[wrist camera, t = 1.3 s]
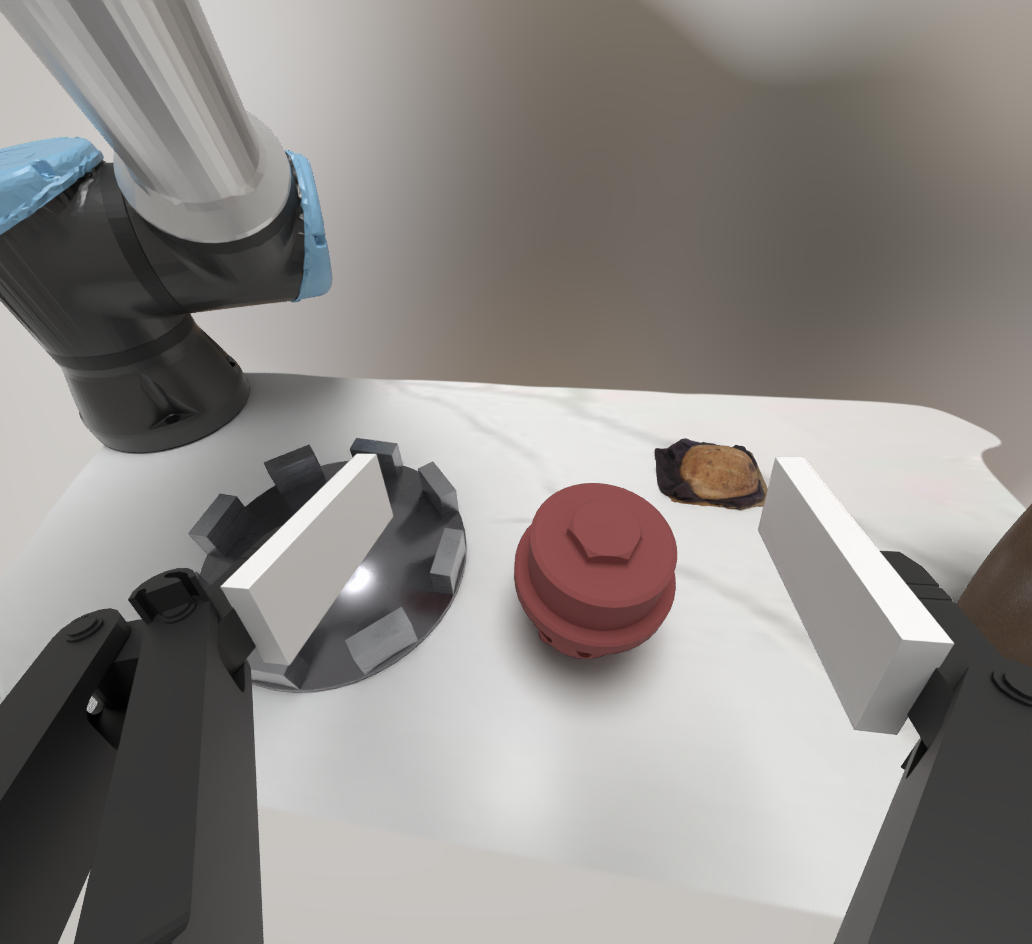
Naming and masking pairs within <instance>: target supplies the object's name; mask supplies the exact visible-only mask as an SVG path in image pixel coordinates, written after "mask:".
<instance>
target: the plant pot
mask: <svg viewBox="0 0 1032 944" xmlns="http://www.w3.org/2000/svg"><path fill="white" fill-rule="evenodd" d="M957 606H958V607H959V608H960V609H961V610H962V611H963V612H964V614H965V615H966V616H967V617H968V618H969V619H970V620H971V621H972V622H973V624H974V625H975V626H976V627H977V628H978V629H979V630H980V631H981V633H982V634H983V635H984V636H985V637H986V638H987V639H988V640H989V641H990V643H991V644H992V645H993V646H994V647H995V648H996V649H997V650H998V651H999V653H1000V654H1001V655H1002V656H1003V657H1004V658H1006V659H1010V660H1013V661H1016V662H1018V663H1021V664H1024V665H1027V666H1029V667H1031V668H1032V504H1031V505H1030V506H1029V508H1027V510H1026V511H1025V512H1024V513H1023V514H1022V515H1021V516H1020V517H1019V518H1018V520H1017V521H1016V522H1015V523H1014V524H1013V525H1012V527H1011V528H1010V529H1009V530H1008V531H1007V532H1006V534H1005V535H1004V536H1003V537H1002V538H1001V540H1000V541H999V542H998V543H997V545H996V546H995V547H994V548H993V550H992V551H991V552H990V554H989V555H988V556H987V558H986V559H985V561H984V562H983V563H982V565H981V566H980V568H979V569H978V571H977V572H976V574H975V575H974V577H973V578H972V580H971V581H970V583H969V585H968V586H967V588H966V590H965V591H964V593H963V595H962V597H961V598H960V600H959V602H958V604H957Z"/></svg>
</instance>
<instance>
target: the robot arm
mask: <svg viewBox="0 0 1032 944" xmlns="http://www.w3.org/2000/svg"><path fill="white" fill-rule="evenodd" d="M0 11H1V13H2V14H3V15H4V16H5V17H6V18H7V20H8V21H9V22H10V24H11V25H12V26H13V27H14V29H15V30H16V31H17V32H18V33H19V35H20V36H21V37H22V38H23V40H24V41H25V42H26V43H27V44H28V46H29V47H30V48H31V49H32V51H33V52H34V53H35V54H36V55H37V57H38V58H39V59H40V60H41V62H42V63H43V64H44V65H45V66H46V68H47V69H48V70H49V71H50V72H51V74H52V75H53V76H54V77H55V79H56V80H57V81H58V82H59V84H60V85H61V86H62V87H63V88H64V90H65V91H66V92H67V93H68V95H69V96H70V97H71V98H72V99H73V101H74V102H75V103H76V104H77V106H78V107H79V108H80V109H81V110H82V112H83V113H84V114H85V115H86V117H87V118H88V119H89V120H90V121H91V123H92V124H93V125H94V126H95V128H96V129H97V130H98V131H99V132H100V134H101V135H102V136H103V137H104V139H105V140H106V141H107V142H108V143H109V145H110V146H111V147H112V148H113V150H114V162H113V163H106V162H105V161H103V158H104V157H103V155H102V153H101V151H99V150H97V149H96V147H95V146H94V145H93V144H92V143H91V142H90V141H88V140H87V139H84V138H80V137H75V138H68V137H60V138H52V139H45V140H40V141H35V142H29V143H24V144H20V145H15V146H11V147H7V148H2V149H0V301H1V302H2V303H3V304H4V305H5V306H6V307H7V308H8V310H9V311H10V312H11V313H12V314H13V315H14V316H15V317H16V318H17V319H18V321H19V322H20V323H21V324H22V325H23V326H24V327H25V328H26V329H27V330H28V332H29V333H30V334H31V335H32V336H33V337H34V338H35V339H36V340H37V341H38V343H39V344H40V345H41V346H42V347H43V348H44V349H45V350H46V351H47V352H48V354H49V355H50V356H51V357H52V358H53V359H54V360H55V361H56V362H57V364H58V365H59V366H60V367H61V369H62V371H63V373H64V375H65V378H66V380H67V383H68V386H69V388H70V391H71V394H72V396H73V398H74V401H75V403H76V405H77V407H78V409H79V414H80V417H81V419H82V421H83V423H84V424H85V426H86V427H87V428H88V429H89V430H90V431H91V432H92V433H93V434H94V435H95V436H96V437H97V439H98V440H99V441H100V442H101V443H103V444H104V445H106V446H108V447H110V448H113V449H116V450H119V451H125V452H152V451H159V450H165V449H169V448H173V447H177V446H180V445H184V444H187V443H189V442H192V441H195V440H197V439H199V438H202V437H204V436H206V435H208V434H210V433H212V432H213V431H215V430H217V429H218V428H220V427H221V426H223V425H224V424H226V423H227V422H228V421H230V420H231V419H232V418H233V417H234V416H235V415H236V414H237V413H238V412H239V411H240V410H241V409H242V407H243V406H244V404H245V403H246V401H247V398H248V395H249V383H248V381H247V379H246V377H245V375H244V373H243V372H242V370H241V368H240V366H239V365H238V364H237V362H236V361H235V360H234V359H233V358H232V357H231V356H229V355H228V354H227V353H226V352H225V351H224V350H223V349H222V348H221V347H220V346H219V345H218V344H217V343H216V342H215V341H214V340H213V339H212V338H210V337H209V336H208V335H207V334H206V333H205V332H204V331H203V330H202V329H201V328H200V327H199V326H198V325H197V324H196V323H195V321H194V319H193V318H192V316H191V314H190V313H196V312H204V311H212V310H220V309H228V308H236V307H244V306H252V305H260V304H267V303H278V302H287V301H291V302H299V301H300V300H301V299H305V298H310V297H316V296H321V295H324V294H325V293H327V292H328V291H329V289H330V288H331V285H332V271H331V264H330V257H329V251H328V245H327V241H326V239H325V230H324V223H323V218H322V212H321V208H320V203H319V198H318V194H317V189H316V185H315V180H314V176H313V172H312V169H311V166H310V163H309V162H308V159H307V158H306V157H304V156H303V155H301V154H296V153H293V152H291V151H289V150H288V151H284V149H283V147H282V146H281V144H280V142H279V140H278V138H277V137H276V136H275V135H274V133H273V132H272V131H271V129H269V128H268V127H267V126H266V125H265V124H264V123H263V122H262V121H261V120H259V119H258V118H257V117H255V116H254V115H252V114H251V113H249V112H248V111H246V110H245V109H244V107H243V104H242V102H241V99H240V97H239V95H238V92H237V90H236V88H235V86H234V83H233V81H232V78H231V76H230V74H229V71H228V69H227V67H226V64H225V62H224V60H223V57H222V55H221V53H220V50H219V48H218V46H217V43H216V41H215V39H214V37H213V34H212V32H211V29H210V27H209V25H208V22H207V20H206V18H205V15H204V13H203V11H202V8H201V6H200V4H199V1H198V0H0ZM392 517H393V513H392V509H391V506H390V502H389V498H388V495H387V491H386V487H385V484H384V480H383V477H382V473H381V469H380V466H379V462H378V458H377V455H376V454H356V455H355V456H354V457H353V458H352V459H351V460H350V461H349V462H348V463H347V464H346V465H345V466H344V467H343V468H342V469H341V470H340V471H339V472H338V473H337V474H336V475H335V476H334V477H333V478H332V479H330V480H329V481H328V482H327V483H326V484H325V485H324V486H323V487H322V488H321V489H320V490H319V491H318V492H317V493H316V494H315V495H314V496H313V497H312V498H311V499H310V500H309V501H308V502H307V503H306V504H305V505H304V506H303V507H302V508H301V509H300V510H299V511H298V512H297V513H296V514H295V515H293V516H292V517H291V518H290V519H289V520H288V521H287V522H286V523H285V524H284V525H283V526H279V527H277V528H275V529H274V530H272V531H270V532H269V533H267V534H265V535H264V536H262V537H261V538H260V539H259V540H258V541H257V542H256V543H255V544H254V545H253V546H252V547H251V550H248V551H247V552H246V553H244V554H243V555H242V556H241V559H240V560H237V561H236V562H235V563H234V564H233V565H232V566H231V567H230V568H229V569H228V570H227V571H225V572H224V573H223V574H222V575H221V576H220V577H219V578H218V579H217V580H216V581H215V582H214V583H213V584H212V585H211V586H210V587H209V588H207V589H206V590H205V589H204V587H203V586H202V584H201V583H200V581H199V579H198V578H197V576H196V574H195V573H194V571H193V570H190V569H188V568H177V569H173V570H169V571H165V572H163V573H161V574H158V575H156V576H154V577H152V578H150V579H149V580H147V581H146V582H144V583H142V584H141V585H140V586H139V587H138V588H137V589H135V590H134V591H133V592H132V594H131V596H130V597H129V599H128V600H129V602H130V603H131V604H132V606H133V607H134V609H135V610H136V611H137V613H138V614H139V615H140V617H141V618H142V619H141V620H135V621H130V622H126V621H125V619H124V618H123V617H122V615H121V614H120V613H119V612H118V610H115V609H111V608H110V609H102V610H98V611H95V612H92V613H88V614H85V615H83V616H81V617H79V618H77V619H75V620H73V621H72V622H71V623H70V624H68V625H67V626H65V627H64V628H63V629H61V630H60V631H59V632H58V633H57V634H56V635H55V636H54V637H53V638H52V640H51V641H50V642H49V643H48V645H47V646H46V647H45V648H44V650H43V651H42V652H41V653H40V655H39V656H38V657H37V659H36V660H35V661H34V662H33V664H32V665H31V666H30V667H29V669H28V670H27V671H26V673H25V674H24V675H23V676H22V678H21V679H20V680H19V681H18V683H17V684H16V685H15V687H14V688H13V689H12V690H11V692H10V693H9V694H8V695H7V697H6V698H5V699H4V701H3V702H2V703H1V704H0V944H58V942H59V940H60V937H61V935H62V933H63V931H64V928H65V926H66V924H67V922H68V919H69V917H70V915H71V912H72V910H73V908H74V906H75V903H76V901H77V898H78V897H79V894H80V892H81V890H82V887H83V885H84V883H85V881H86V878H87V876H88V874H89V872H90V875H89V879H88V884H87V888H86V892H85V897H84V902H83V906H82V910H81V914H80V919H79V923H78V927H77V932H76V936H75V941H74V944H264V943H263V942H264V941H263V921H262V897H261V876H260V854H259V831H258V810H257V788H256V766H255V744H254V722H253V700H252V678H251V667H250V664H249V662H248V660H247V658H248V656H249V655H250V654H251V653H252V651H253V650H254V649H255V648H256V649H257V651H258V653H259V655H260V656H261V658H262V660H263V662H264V663H273V664H282V665H290V664H291V662H292V661H293V660H294V658H295V657H296V655H297V654H298V652H299V651H300V650H301V648H302V647H303V645H304V644H305V642H306V641H307V639H308V638H309V637H310V635H311V634H312V632H313V631H314V629H315V628H316V627H317V625H318V624H319V622H320V621H321V619H322V618H323V617H324V615H325V614H326V612H327V611H328V609H329V608H330V606H331V605H332V604H333V602H334V601H335V599H336V598H337V596H338V595H339V594H340V592H341V591H342V589H343V588H344V586H345V585H346V584H347V582H348V581H349V579H350V578H351V576H352V575H353V573H354V572H355V571H356V569H357V568H358V566H359V565H360V563H361V562H362V561H363V559H364V558H365V556H366V555H367V553H368V552H369V550H370V549H371V548H372V546H373V545H374V543H375V542H376V540H377V539H378V538H379V536H380V535H381V533H382V532H383V530H384V529H385V528H386V526H387V525H388V523H389V522H390V520H391V519H392ZM758 531H759V533H760V535H761V537H762V539H763V542H764V544H765V546H766V548H767V550H768V552H769V554H770V556H771V558H772V560H773V562H774V564H775V566H776V569H777V571H778V573H779V575H780V577H781V579H782V581H783V583H784V585H785V587H786V589H787V591H788V593H789V596H790V598H791V600H792V602H793V604H794V606H795V608H796V610H797V612H798V614H799V616H800V618H801V620H802V623H803V625H804V627H805V629H806V631H807V633H808V635H809V637H810V639H811V641H812V643H813V645H814V647H815V650H816V652H817V654H818V656H819V658H820V660H821V662H822V664H823V666H824V668H825V670H826V672H827V674H828V677H829V679H830V681H831V683H832V685H833V687H834V689H835V691H836V693H837V695H838V697H839V699H840V701H841V704H842V706H843V708H844V710H845V712H846V714H847V716H848V718H849V720H850V722H851V724H852V726H853V728H854V730H860V731H868V732H877V733H886V734H895V735H897V734H898V733H899V731H900V729H901V728H902V726H903V725H904V723H905V721H906V720H907V718H908V717H909V719H910V721H911V722H912V724H913V726H914V727H915V729H916V730H917V732H918V734H919V735H920V737H921V738H920V739H919V740H918V742H917V743H916V745H915V746H914V748H913V749H912V751H911V752H910V754H909V755H908V757H907V758H906V760H905V761H904V763H903V764H902V766H901V768H903V769H904V770H905V771H904V773H903V776H902V778H901V781H900V783H899V786H898V788H897V790H896V793H895V795H894V798H893V800H892V803H891V805H890V807H889V810H888V812H887V815H886V817H885V820H884V822H883V825H882V827H881V829H880V832H879V834H878V837H877V839H876V842H875V844H874V846H873V849H872V851H871V854H870V856H869V859H868V861H867V864H866V866H865V868H864V871H863V873H862V876H861V878H860V881H859V883H858V885H857V888H856V890H855V893H854V895H853V898H852V900H851V903H850V905H849V907H848V910H847V912H846V915H845V917H844V920H843V922H842V925H841V927H840V929H839V932H838V934H837V937H836V939H835V942H834V944H1032V668H1031V667H1029V666H1027V665H1024V664H1021V663H1018V662H1016V661H1013V660H1010V659H1006V658H1004V657H1003V656H1002V655H1001V654H1000V653H999V651H998V650H997V649H996V648H995V647H994V646H993V645H992V644H991V643H990V641H989V640H988V639H987V638H986V637H985V636H984V635H983V634H982V633H981V631H980V630H979V629H978V628H977V627H976V626H975V625H974V624H973V622H972V621H971V620H970V619H969V618H968V617H967V616H966V615H965V614H964V612H963V611H962V610H961V609H960V608H959V607H958V606H957V605H956V604H955V603H952V599H951V598H950V597H949V596H948V595H947V593H946V592H945V591H944V590H943V589H942V588H939V585H938V583H937V582H936V581H935V580H934V579H933V578H932V577H931V576H930V574H929V573H928V572H927V571H926V570H925V569H924V568H923V567H922V566H920V565H919V564H917V563H916V562H914V561H913V560H911V559H910V558H908V557H907V556H905V555H904V554H902V553H901V552H893V551H879V550H878V549H877V547H876V546H875V545H874V544H873V543H872V541H871V540H870V539H869V538H868V536H867V535H866V534H865V533H864V531H863V530H862V529H861V528H860V526H859V525H858V524H857V523H856V522H855V520H854V519H853V518H852V517H851V515H850V514H849V513H848V512H847V510H846V509H845V508H844V507H843V506H842V504H841V503H840V502H839V501H838V499H837V498H836V497H835V496H834V494H833V493H832V492H831V491H830V489H829V488H828V487H827V486H826V485H825V483H824V482H823V481H822V480H821V478H820V477H819V476H818V475H817V473H816V472H815V471H814V470H813V468H812V467H811V466H810V465H809V464H808V462H807V461H806V460H805V459H804V457H775V462H774V466H773V470H772V474H771V478H770V482H769V486H768V490H767V495H766V499H765V503H764V507H763V511H762V515H761V519H760V523H759V527H758ZM91 696H93V697H94V698H95V699H96V700H97V702H98V704H97V706H96V708H95V709H94V711H93V712H92V713H89V712H88V711H87V705H88V703H89V700H90V698H91ZM90 869H91V870H90Z"/></svg>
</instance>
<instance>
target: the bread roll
mask: <svg viewBox="0 0 1032 944" xmlns="http://www.w3.org/2000/svg"><path fill="white" fill-rule="evenodd" d="M655 460H656V469H657V482H658V486H659V488H660V490H661V491H662V492H663V493H664V494H665V495H666V496H668V497H669V498H670V499H672V500H671V501H673V502H679V503H683V504H692V505H700V506H717V507H723V506H726V508H727V509H729V508H739V509H743V508H746V507H749V508H750V507H756V506H758V507H761V506H764V503H765V499H766V495H767V490H768V489H767V486H766V483H765V481H764V479H763V477H762V475H761V472H760V470H759V467H758V465H757V463H756V460H755V459H754V456H753V454H752V453H751V452H750V451H747V450H746V448H745V447H743V446H738V445H735V446H733V447H729V446H720V445H716V444H712V443H705V442H702V443H699V442H695V441H691V440H689V439H686V438H685V439H681V440H680V441H678V442H676V443H675V444H673V445H671V446H670V447H669V448H667V449H659V448H656V449H655Z"/></svg>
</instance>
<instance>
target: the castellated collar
mask: <svg viewBox="0 0 1032 944" xmlns="http://www.w3.org/2000/svg"><path fill="white" fill-rule="evenodd" d="M350 451H351V454H352V457H354V456H355V455H356V454H376V455H377V458H378V462H379V466H380V469H381V473H382V477H383V480H384V484H385V487H386V491H387V495H388V498H389V502H390V506H391V509H392V513H393V517H392V519H391V520H390V522H389V523H388V525H387V526H386V528H385V529H384V530H383V532H382V533H381V535H380V536H379V538H378V539H377V540H376V542H375V543H374V545H373V546H372V548H371V549H370V550H369V552H368V553H367V555H366V556H365V558H364V559H363V561H362V562H361V563H360V565H359V566H358V568H357V569H356V571H355V572H354V573H353V575H352V576H351V578H350V579H349V581H348V582H347V584H346V585H345V586H344V588H343V589H342V591H341V592H340V594H339V595H338V596H337V598H336V599H335V601H334V602H333V604H332V605H331V606H330V608H329V609H328V611H327V612H326V614H325V615H324V617H323V618H322V619H321V621H320V622H319V624H318V625H317V627H316V628H315V629H314V631H313V632H312V634H311V635H310V637H309V638H308V639H307V641H306V642H305V644H304V645H303V647H302V648H301V650H300V651H299V652H298V654H297V655H296V657H295V658H294V660H293V661H292V662H291V664H290V665H282V664H273V663H264V662H263V660H262V658H261V656H260V655H259V653H258V651H257V649H256V648H255V649H254V650H253V651H252V653H251V654H250V655H249V656H248V658H247V660H248V662H249V664H250V667H251V678H252V684H254V685H257V686H261V687H264V688H268V689H271V690H276V691H285V692H316V691H322V690H329V689H335V688H338V687H342V686H345V685H349V684H352V683H355V682H358V681H360V680H363V679H365V678H367V677H370V676H372V675H374V674H377V673H378V672H380V671H382V670H384V669H385V668H387V667H389V666H391V665H392V664H394V663H396V662H397V661H398V660H400V659H401V658H402V657H404V656H405V655H407V654H408V653H409V652H411V651H412V650H413V649H414V648H415V647H416V646H417V645H419V644H420V643H421V642H422V641H423V640H424V639H425V638H426V637H427V636H428V635H429V634H430V633H431V631H432V630H433V629H434V628H435V627H436V626H437V624H438V623H439V622H440V621H441V619H442V618H443V616H444V615H445V613H446V612H447V610H448V609H449V607H450V605H451V603H452V601H453V599H454V597H455V595H456V593H457V591H458V589H459V586H460V583H461V580H462V577H463V573H464V568H465V563H466V538H465V530H464V526H463V522H462V519H461V516H460V514H459V511H458V503H457V495H456V490H455V488H454V487H453V486H452V485H451V483H450V482H449V481H448V480H447V478H446V477H445V476H444V475H443V473H442V472H441V471H440V470H439V468H438V467H437V466H436V465H435V463H434V462H431V463H429V464H427V465H425V466H423V467H420V468H418V471H419V472H418V471H416V470H414V469H411V468H409V467H406V466H403V463H402V459H401V455H400V451H399V447H398V444H397V443H389V442H382V441H374V440H367V439H360V438H356V439H355V441H354V443H353V445H352V446H351V448H350ZM348 462H349V461H344V462H338V463H333V464H327V465H324V466H320V465H319V463H318V460H317V458H316V456H315V454H314V452H313V450H312V449H311V447H310V445H307V446H304V447H302V448H299V449H297V450H294V451H292V452H289V453H287V454H284V455H282V456H279V457H277V458H274V459H272V460H269V461H267V462H264V465H265V467H266V469H267V471H268V473H269V475H270V477H271V478H272V480H273V482H274V483H275V486H274V487H272V488H270V489H269V490H267V491H266V492H264V493H263V494H261V495H260V496H259V497H257V498H256V499H254V500H253V501H252V502H251V503H250V504H248V505H247V506H246V507H244V505H243V504H242V503H241V501H240V500H239V499H238V497H237V496H231V495H225V494H219V496H218V497H217V498H216V499H215V501H214V502H213V503H212V504H211V506H210V507H209V508H208V510H207V511H206V512H205V513H204V515H203V516H202V517H201V518H200V520H199V521H198V522H197V523H196V525H195V526H194V527H193V528H192V530H191V531H190V532H189V533H188V534H189V535H190V536H191V537H192V538H193V539H194V541H195V542H196V543H197V544H198V545H199V546H200V547H201V548H202V549H203V550H204V551H205V552H206V553H207V554H208V556H207V558H206V560H205V562H204V564H203V567H202V570H201V573H200V575H199V574H198V573H197V572H195V574H196V576H197V578H198V579H199V581H200V583H201V584H202V586H203V587H204V589H205V590H206V589H207V588H209V587H210V586H211V585H212V584H213V583H214V582H215V581H216V580H217V579H218V578H219V577H220V576H221V575H222V574H223V573H224V572H225V571H227V570H228V569H229V568H230V567H231V566H232V565H233V564H234V563H235V562H236V561H237V560H240V559H241V556H242V555H243V554H244V553H246V552H247V551H248V550H251V547H252V546H253V545H254V544H255V543H256V542H257V541H258V540H259V539H260V538H261V537H262V536H264V535H265V534H267V533H269V532H270V531H272V530H274V529H275V528H277V527H279V526H283V525H284V524H285V523H286V522H287V521H288V520H289V519H290V518H291V517H292V516H293V515H295V514H296V513H297V512H298V511H299V510H300V509H301V508H302V507H303V506H304V505H305V504H306V503H307V502H308V501H309V500H310V499H311V498H312V497H313V496H314V495H315V494H316V493H317V492H318V491H319V490H320V489H321V488H322V487H323V486H324V485H325V484H326V483H327V482H328V481H329V480H330V479H332V478H333V477H334V476H335V475H336V474H337V473H338V472H339V471H340V470H341V469H342V468H343V467H344V466H345V465H346V464H347V463H348Z"/></svg>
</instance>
